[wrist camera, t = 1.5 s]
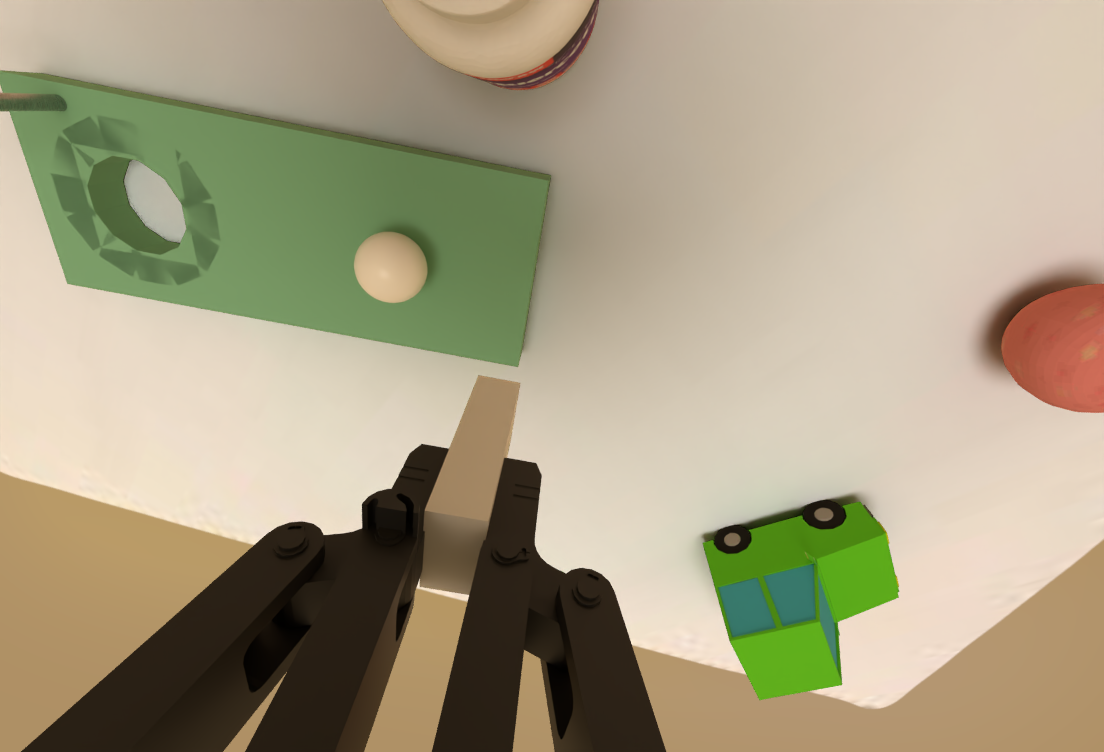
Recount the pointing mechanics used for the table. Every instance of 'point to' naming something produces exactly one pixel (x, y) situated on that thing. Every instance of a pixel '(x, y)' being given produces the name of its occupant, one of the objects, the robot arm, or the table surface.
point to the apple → (1060, 348)
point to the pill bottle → (500, 36)
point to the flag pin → (31, 102)
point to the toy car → (799, 592)
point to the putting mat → (283, 218)
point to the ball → (390, 267)
